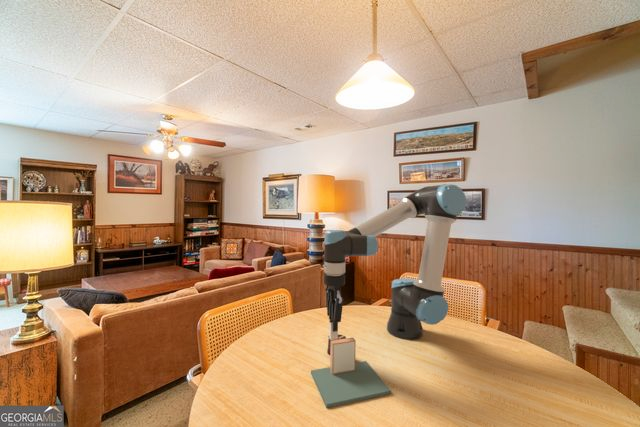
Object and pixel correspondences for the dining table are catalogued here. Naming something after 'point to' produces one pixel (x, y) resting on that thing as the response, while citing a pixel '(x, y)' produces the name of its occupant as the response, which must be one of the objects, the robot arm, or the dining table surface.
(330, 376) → the mat
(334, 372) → the tile
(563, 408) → the dining table surface
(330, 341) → the electronic device
